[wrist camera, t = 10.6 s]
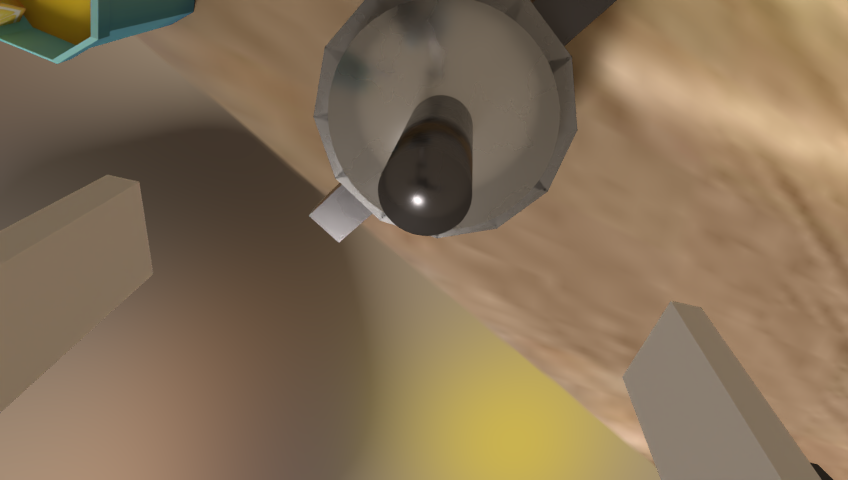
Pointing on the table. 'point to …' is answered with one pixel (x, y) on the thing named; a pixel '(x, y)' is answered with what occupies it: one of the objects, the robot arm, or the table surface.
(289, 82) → the table surface
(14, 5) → the cup
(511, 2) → the pot
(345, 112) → the lid
